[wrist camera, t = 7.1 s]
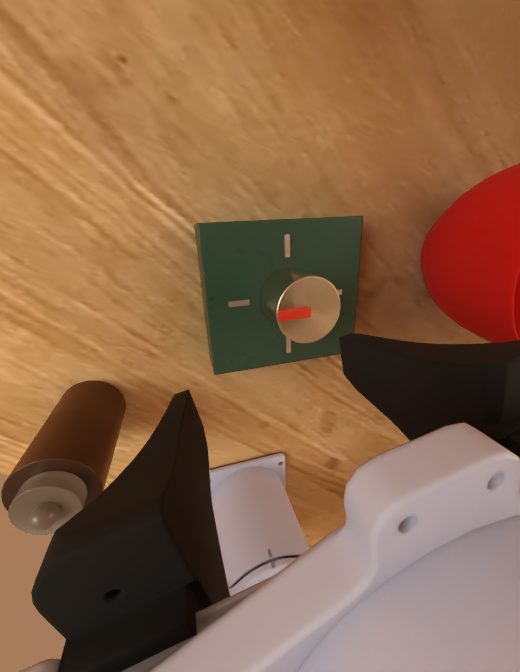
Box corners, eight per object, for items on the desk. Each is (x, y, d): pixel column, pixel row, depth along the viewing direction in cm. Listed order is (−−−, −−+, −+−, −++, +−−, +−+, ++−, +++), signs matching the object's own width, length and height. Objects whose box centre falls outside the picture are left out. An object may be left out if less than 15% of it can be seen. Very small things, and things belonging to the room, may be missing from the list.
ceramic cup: (413, 374, 30) (517, 438, 21) (372, 211, 23) (504, 199, 14) (514, 314, 31) (655, 349, 22) (506, 140, 24) (711, 85, 15)
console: (334, 339, 26) (354, 352, 23) (210, 358, 23) (214, 376, 20) (340, 217, 22) (365, 215, 19) (194, 224, 19) (197, 223, 17)
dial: (314, 265, 20) (345, 273, 16) (314, 321, 21) (342, 339, 17) (257, 271, 19) (277, 280, 15) (261, 329, 20) (279, 350, 17)
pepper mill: (131, 424, 23) (104, 545, 14) (69, 436, 22) (-1, 574, 13) (119, 375, 22) (80, 478, 13) (52, 386, 21) (-41, 505, 12)
